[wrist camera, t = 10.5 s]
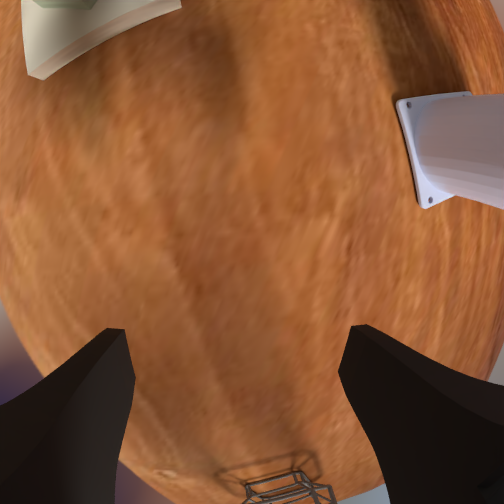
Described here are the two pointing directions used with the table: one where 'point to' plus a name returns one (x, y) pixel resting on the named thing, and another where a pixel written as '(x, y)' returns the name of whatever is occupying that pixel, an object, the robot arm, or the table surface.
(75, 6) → the sage green block
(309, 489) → the geometric lantern
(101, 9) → the pale ash block
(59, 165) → the table surface
